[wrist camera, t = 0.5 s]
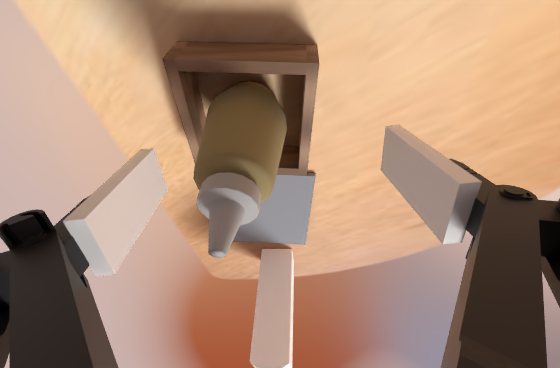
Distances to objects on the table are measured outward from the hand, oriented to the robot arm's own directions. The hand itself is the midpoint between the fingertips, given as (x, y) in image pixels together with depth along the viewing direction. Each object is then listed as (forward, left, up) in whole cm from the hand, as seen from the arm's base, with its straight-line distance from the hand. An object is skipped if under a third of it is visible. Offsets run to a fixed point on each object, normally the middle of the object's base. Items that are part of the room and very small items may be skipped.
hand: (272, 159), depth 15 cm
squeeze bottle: (+5, -3, -15) cm, 16 cm away
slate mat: (+24, -3, -15) cm, 29 cm away
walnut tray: (+5, -3, -15) cm, 16 cm away
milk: (+39, 0, -15) cm, 42 cm away
